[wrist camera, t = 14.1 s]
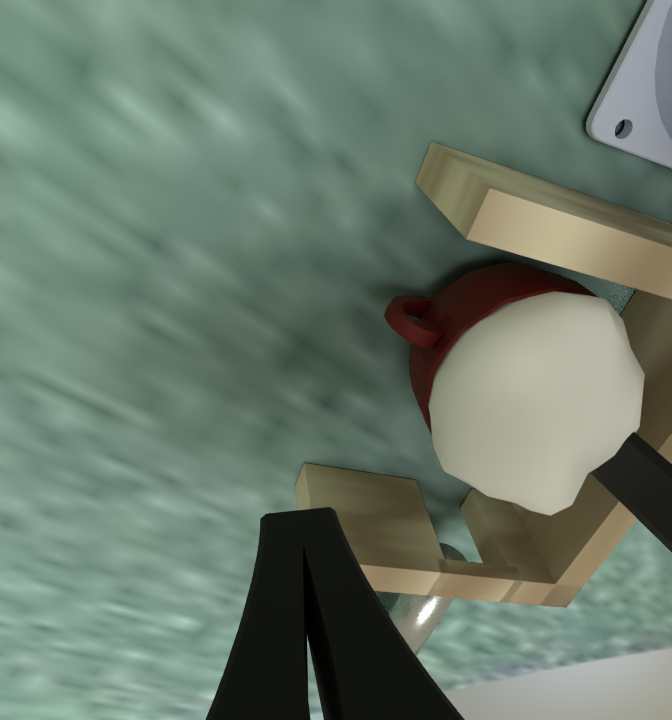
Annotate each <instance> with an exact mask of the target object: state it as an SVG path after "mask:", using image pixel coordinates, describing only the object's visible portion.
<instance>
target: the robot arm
mask: <svg viewBox="0 0 672 720" xmlns="http://www.w3.org/2000/svg"><path fill="white" fill-rule="evenodd" d="M622 120H624V121H625V126H624V129H623V130H622V132H621V133H620V134H618V135H616V136H615V132H614V131H615V128H616V126H617V124H618V123H619V122H620V121H622ZM586 131H587V133H588V135H589V136H590V137H592V138H593V139H595V140H597V141H600V142H602V143H605V144H608V145H610V146H613V147H616V148H618V149H621V150H624V151H626V152H629V153H632V154H634V155H637V156H640V157H642V158H645V159H648V160H650V161H653V162H656V163H658V164H661V165H664V166H666V167H669V168H671V169H672V0H647V2H646V4H645V6H644V8H643V10H642V12H641V14H640V16H639V18H638V20H637V22H636V24H635V26H634V28H633V30H632V32H631V34H630V35H629V37H628V39H627V41H626V43H625V45H624V47H623V49H622V51H621V53H620V55H619V57H618V59H617V61H616V63H615V65H614V67H613V69H612V71H611V73H610V75H609V77H608V79H607V80H606V82H605V84H604V86H603V88H602V90H601V92H600V94H599V96H598V98H597V100H596V102H595V104H594V106H593V108H592V110H591V112H590V114H589V116H588V119H587V122H586ZM307 636H308V641H309V646H310V651H311V656H312V661H313V667H314V672H315V677H316V682H317V687H318V692H319V697H320V702H321V707H322V712H323V717H324V720H464V718H463V717H462V716H461V715H460V714H459V712H458V711H457V710H456V708H455V707H454V706H453V705H452V703H451V702H450V701H449V700H448V699H447V697H446V696H445V695H444V693H443V692H442V691H441V689H440V688H439V687H438V685H437V684H436V683H435V682H434V680H433V679H432V678H431V676H430V675H429V674H428V672H427V671H426V669H425V668H424V667H423V665H422V664H421V663H420V661H419V660H418V658H417V657H416V656H415V654H414V653H413V651H412V650H411V648H410V647H409V645H408V644H407V642H406V641H405V639H404V638H403V636H402V635H401V633H400V632H399V630H398V629H397V628H396V626H395V624H394V623H393V621H392V620H391V618H390V617H389V615H388V613H387V612H386V610H385V609H384V607H383V605H382V604H381V602H380V600H379V598H378V597H377V595H376V593H375V592H374V590H373V588H372V587H371V585H370V583H369V582H368V580H367V578H366V576H365V574H364V572H363V571H362V569H361V567H360V565H359V563H358V561H357V559H356V557H355V555H354V553H353V551H352V549H351V547H350V545H349V543H348V541H347V539H346V536H345V534H344V532H343V530H342V527H341V525H340V522H339V520H338V517H337V514H336V511H335V510H334V509H332V508H331V507H324V508H315V509H306V510H297V511H288V512H279V513H269V514H265V515H264V516H263V517H262V518H261V520H260V537H259V545H258V552H257V557H256V563H255V567H254V572H253V577H252V581H251V585H250V589H249V593H248V596H247V600H246V604H245V608H244V611H243V615H242V619H241V622H240V625H239V629H238V632H237V635H236V638H235V641H234V644H233V647H232V650H231V653H230V656H229V659H228V662H227V665H226V668H225V671H224V673H223V676H222V679H221V681H220V684H219V687H218V690H217V692H216V695H215V697H214V700H213V703H212V705H211V708H210V710H209V712H208V715H207V717H206V720H310V711H309V703H308V664H307Z"/></svg>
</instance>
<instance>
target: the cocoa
mask: <svg viewBox="0 0 672 720" xmlns="http://www.w3.org/2000/svg"><path fill="white" fill-rule="evenodd" d="M408 315H413V316H415V317H417V318H420V319H419V321H418V322H416V321H414V320H413V319H412V318H410V317H409V316H408ZM384 317H385V319H386V321H387V323H388V324H389V325H390V326H391V328H392V329H393V330H395V331H396V332H397V333H398V334H399V335H400V336H402V337H403V338H405V339H406V340H408V341H409V342H411V343H412V345H411V351H410V357H409V367H410V377H411V383H412V388H413V392H414V394H415V397H416V399H417V402H418V404H419V407H420V409H421V412H422V414H423V417H424V419H425V422H426V424H427V426H428V429H429V431H430V433H431V435H432V442H433V447H434V450H435V452H436V454H437V457H438V459H439V461H440V464H441V466H442V468H443V471H445V472H446V473H448V474H450V475H452V476H454V477H456V478H458V479H460V480H462V481H464V482H466V483H468V484H469V485H471V486H473V487H474V488H476V489H477V490H479V491H480V492H482V493H483V494H485V495H486V496H488V497H492V498H497V499H501V500H505V501H509V502H514V503H517V504H518V505H520V506H522V507H524V508H526V509H528V510H530V511H533V512H538V513H542V514H546V515H550V516H551V515H553V514H555V513H557V512H559V511H561V510H563V509H565V508H567V507H569V506H571V505H572V504H573V502H574V500H575V498H576V496H577V494H578V492H579V490H580V488H581V486H582V484H583V482H584V480H585V478H586V476H587V474H588V473H589V472H590V473H591V474H592V475H593V476H594V477H595V478H596V479H597V480H598V481H599V482H600V483H601V484H602V485H603V486H604V487H605V488H606V489H607V490H608V491H609V492H610V493H611V494H612V495H614V496H615V497H616V498H617V499H618V500H619V501H620V502H621V503H622V504H623V505H624V506H625V507H626V508H627V509H628V510H629V511H630V512H631V513H632V514H633V515H634V516H635V517H636V518H637V519H638V520H639V521H640V522H641V523H642V524H643V525H644V526H645V527H646V528H647V529H648V530H649V531H650V532H652V533H653V534H654V535H655V536H656V537H657V538H658V539H659V540H660V541H661V542H662V543H663V544H664V545H665V546H666V547H667V548H668V549H669V550H670V551H671V552H672V464H671V463H670V462H669V461H668V460H666V459H665V458H664V457H663V456H662V455H661V454H659V453H658V452H657V451H656V450H655V449H654V448H653V447H651V446H650V445H649V444H648V443H647V442H646V441H644V440H643V439H642V438H641V437H640V436H639V435H637V434H636V431H637V430H638V428H639V427H640V417H641V408H642V398H643V388H644V378H645V374H644V372H643V370H642V368H641V366H640V365H639V363H638V361H637V359H636V357H635V355H634V353H633V351H632V350H631V347H630V343H629V340H628V336H627V332H626V329H625V325H624V321H623V319H622V318H621V317H620V316H619V315H618V313H617V312H616V311H615V310H614V309H613V307H612V306H611V305H610V304H609V302H608V301H607V300H606V299H604V298H599V297H598V296H596V295H595V294H593V293H592V292H591V291H589V290H588V289H586V288H585V287H583V286H582V285H580V284H579V283H578V282H576V281H574V280H571V279H568V278H566V277H563V276H561V275H558V274H554V273H551V272H547V271H543V270H539V269H535V268H531V267H526V266H522V265H518V264H513V263H509V262H507V263H503V264H499V265H494V266H490V267H486V268H481V269H477V270H473V271H470V272H468V273H467V274H465V275H464V276H462V277H461V278H459V279H458V280H457V281H455V282H454V283H452V284H451V285H449V286H448V287H446V288H445V289H444V290H442V291H441V292H439V293H438V294H436V296H435V297H434V299H431V298H426V297H421V296H399V297H395V298H394V299H393V300H392V301H391V303H390V304H389V305H388V307H387V309H386V312H385V314H384Z"/></svg>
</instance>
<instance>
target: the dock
mask: <svg viewBox="0 0 672 720" xmlns="http://www.w3.org/2000/svg"><path fill="white" fill-rule="evenodd" d="M415 183H416V185H417V186H418V187H419V188H420V189H421V190H422V191H423V192H424V193H425V194H426V196H427V197H428V198H429V199H430V200H431V201H432V202H433V203H434V204H435V205H436V207H437V208H438V209H439V210H440V211H441V212H442V213H443V214H444V215H445V216H446V217H447V219H448V220H449V221H450V222H451V223H452V224H453V225H454V226H455V227H456V228H457V230H458V231H459V232H460V233H461V234H462V235H463V236H464V237H465V238H466V239H467V240H471V241H474V242H478V243H481V244H485V245H488V246H491V247H495V248H498V249H502V250H505V251H509V252H512V253H515V254H519V255H522V256H526V257H529V258H532V259H536V260H539V261H543V262H546V263H550V264H553V265H556V266H560V267H563V268H567V269H570V270H574V271H577V272H580V273H584V274H587V275H591V276H594V277H598V278H601V279H604V280H608V281H611V282H615V283H618V284H621V285H625V286H628V287H632V288H635V289H637V290H636V291H635V293H634V295H633V296H632V298H631V299H630V301H629V302H628V304H627V306H626V307H625V309H624V310H623V312H622V313H621V315H620V317H621V318H622V319H623V321H624V325H625V329H626V332H627V336H628V340H629V343H630V347H631V350H632V351H633V353H634V355H635V357H636V359H637V361H638V363H639V365H640V366H641V368H642V370H643V372H644V374H645V378H644V388H643V398H642V408H641V417H640V427H639V428H638V430H637V431H636V434H637V435H639V436H640V437H641V438H642V439H643V440H644V441H646V442H647V443H648V444H649V445H650V446H651V447H653V448H654V449H655V450H656V451H657V452H658V453H659V454H661V455H662V456H663V457H664V458H665V459H666V460H668V461H669V462H670V463H671V464H672V223H669V222H666V221H663V220H660V219H657V218H654V217H651V216H648V215H645V214H642V213H639V212H636V211H634V210H631V209H628V208H625V207H622V206H619V205H616V204H613V203H610V202H607V201H604V200H601V199H598V198H595V197H592V196H590V195H587V194H584V193H581V192H578V191H575V190H572V189H569V188H566V187H563V186H560V185H557V184H554V183H551V182H548V181H546V180H543V179H540V178H537V177H534V176H531V175H528V174H525V173H522V172H519V171H516V170H513V169H510V168H507V167H504V166H501V165H499V164H496V163H493V162H490V161H487V160H484V159H481V158H478V157H475V156H472V155H469V154H466V153H463V152H460V151H457V150H455V149H452V148H449V147H446V146H443V145H440V144H437V143H434V142H431V143H430V146H429V148H428V151H427V153H426V156H425V158H424V161H423V164H422V166H421V169H420V171H419V174H418V176H417V179H416V181H415ZM295 489H296V497H297V505H298V510H306V509H315V508H324V507H331V508H332V509H334V510H335V511H336V514H337V517H338V520H339V522H340V525H341V527H342V530H343V532H344V534H345V536H346V539H347V541H348V543H349V545H350V547H351V549H352V551H353V553H354V555H355V557H356V559H357V561H358V563H359V565H360V567H361V569H362V571H363V572H364V574H365V576H366V578H367V580H368V582H369V583H370V585H371V587H372V588H373V590H374V591H383V592H395V593H406V594H417V595H429V596H440V597H451V598H462V599H474V600H485V601H496V602H508V603H519V604H530V605H542V606H553V607H564V608H566V607H567V606H568V605H569V604H570V602H571V601H572V600H573V599H574V597H575V596H576V595H577V594H578V592H579V591H580V590H581V589H582V587H583V586H584V585H585V584H586V582H587V581H588V580H589V579H590V577H591V576H592V575H593V574H594V572H595V571H596V570H597V569H598V568H599V566H600V565H601V564H602V563H603V561H604V560H605V559H606V558H607V556H608V555H609V554H610V553H611V551H612V550H613V549H614V548H615V546H616V545H617V544H618V543H619V541H620V540H621V539H622V538H623V537H624V535H625V534H626V533H627V532H628V530H629V529H630V528H631V527H632V525H633V524H634V523H635V522H636V520H637V518H636V517H635V516H634V515H633V514H632V513H631V512H630V511H629V510H628V509H627V508H626V507H625V506H624V505H623V504H622V503H621V502H620V501H619V500H618V499H617V498H616V497H615V496H614V495H612V494H611V493H610V492H609V491H608V490H607V489H606V488H605V487H604V486H603V485H602V484H601V483H600V482H599V481H598V480H597V479H596V478H595V477H594V476H593V475H592V474H591V473H590V472H589V473H588V474H587V476H586V478H585V480H584V482H583V484H582V486H581V488H580V490H579V492H578V494H577V496H576V498H575V500H574V502H573V504H572V505H571V506H569V507H567V508H565V509H563V510H561V511H559V512H557V513H555V514H553V515H551V516H550V515H546V514H542V513H538V512H533V511H530V510H528V509H526V508H524V507H522V506H520V505H518V504H517V503H514V502H509V501H505V500H501V499H497V498H492V497H488V496H486V495H485V494H483V493H482V492H480V491H479V490H477V489H471V491H470V492H469V494H468V496H467V497H466V499H465V501H464V503H463V504H462V506H461V508H460V511H461V513H462V515H463V517H464V520H465V522H466V524H467V527H468V529H469V531H470V534H471V536H472V538H473V541H474V543H475V545H476V548H477V550H478V552H479V554H480V557H481V559H482V561H483V563H475V562H466V561H457V560H447V559H444V556H443V553H442V550H441V548H440V545H439V542H438V540H437V537H436V534H435V531H434V529H433V526H432V523H431V521H430V518H429V515H428V512H427V510H426V507H425V504H424V502H423V499H422V496H421V493H420V491H419V488H418V485H417V482H416V480H413V479H406V478H399V477H393V476H386V475H380V474H373V473H366V472H360V471H353V470H347V469H340V468H333V467H327V466H320V465H314V464H307V463H304V465H303V467H302V470H301V472H300V475H299V477H298V480H297V482H296V485H295Z"/></svg>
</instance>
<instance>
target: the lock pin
mask: <svg viewBox="0 0 672 720" xmlns="http://www.w3.org/2000/svg"><path fill="white" fill-rule="evenodd" d="M439 545H440V548H441V550H442V553H443V556H444V559H447V560H457V561H466V562H467V560H466V558H465V557H464V556H463V555H462V554H461V553H460V552H459V551H458V550H457V549H455V548H454V547H452V546H450V545H447V544H444V543H439ZM453 599H454V598H451V597H440V596H429V595H417V594H406V593H401V595H400V596H399V598H398V600H397V602H396V603H395V605H394V607H393V608H392V610H391V612H390V614H389V617H390V618H391V620H392V621H393V623H394V624H395V626H396V628H397V629H398V630H399V632H400V633H401V635H402V636H403V638H404V639H405V641H406V642H407V644H408V645H409V647H410V648H411V650H412V651H413V653H414V654H415V656H417V654H418V653H419V651H420V650H421V648H422V647H423V645H424V644H425V642H426V641H427V639H428V638H429V636H430V634H431V633H432V631H433V630H434V628H435V627H436V625H437V624H438V622H439V621H440V619H441V618H442V616H443V615H444V613H445V612H446V610H447V608H448V607H449V605H450V604H451V602H452V601H453Z"/></svg>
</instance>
